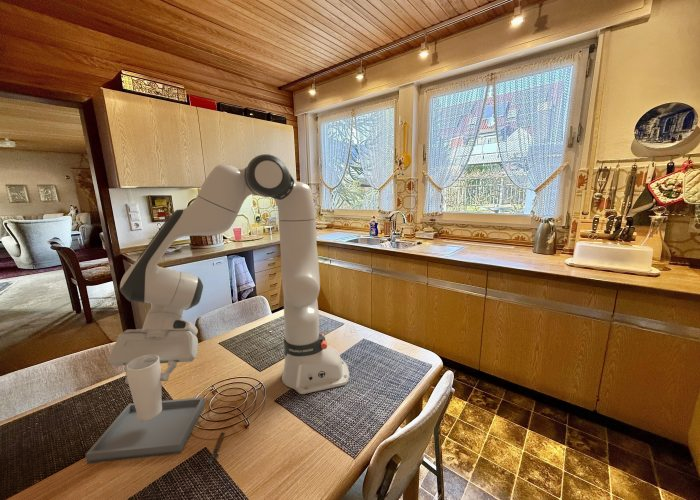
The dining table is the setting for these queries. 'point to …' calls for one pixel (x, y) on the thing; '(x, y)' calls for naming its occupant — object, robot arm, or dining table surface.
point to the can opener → (216, 448)
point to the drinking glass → (145, 386)
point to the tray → (148, 432)
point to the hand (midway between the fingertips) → (146, 382)
